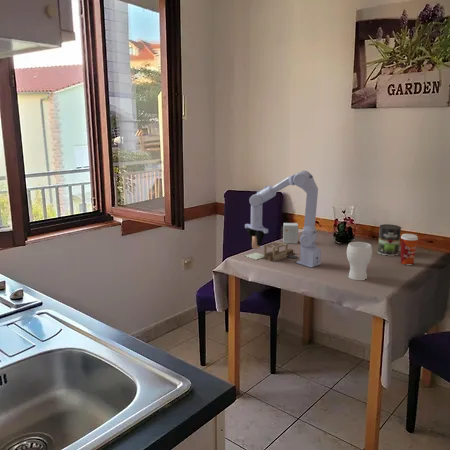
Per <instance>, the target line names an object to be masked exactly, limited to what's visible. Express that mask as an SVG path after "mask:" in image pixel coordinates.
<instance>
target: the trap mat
mask: <svg viewBox="0 0 450 450" xmlns="http://www.w3.org/2000/svg"><path fill="white" fill-rule="evenodd" d="M286 258H289V259H292V260H294V259H298V258H299V256H298V255H293V254H290V255H287V257H286Z"/></svg>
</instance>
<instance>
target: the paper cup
mask: <svg viewBox="0 0 450 450" xmlns="http://www.w3.org/2000/svg"><path fill="white" fill-rule="evenodd" d="M418 240H419V238H418V236H417V234H413V233H403V234H401V235H400V264H401V263H402V264H413V265H414V263H415V262H414V261H415V257H416V250H417V244H418ZM402 264H401V265H402Z"/></svg>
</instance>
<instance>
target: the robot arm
mask: <svg viewBox="0 0 450 450" xmlns="http://www.w3.org/2000/svg"><path fill="white" fill-rule="evenodd" d="M288 186H297V187H298V188H300V189H302V190H303V191H304V192H305V193H306V199H305V212H304V213H305V214H304V223H303V228H302V232H301V235H300V237H299V243H300V251H299V252H300V254H299V260H297V261H295V263H296V264H299V265H301V266H305V267H308V268H314V267H317V266H321V265H322V250H321V249H320V248H319V247H317V244H316V241H317V239H318V234H317V231H316V229H317V228H316V220H317V219H316V218H317V217H316V216H317V206H318V195H319V187H318V186H317V183H316V182H315V179H314V176H313V174H311V173H310V172H309V171H307V170H302V171H300V172H297V173H295V174H292V175H289V176H287V177H286V178H284V179H283V180H281V181H280V182H278V183H277V184H275V185H265V186H264V187H263V189H261V190H258V191H256V193H255V194H252V195H251V196H249V199H248V201H249V204H250V223H245V224H244V228H245V229H246V234H247V235H248V238H249V241H250V244H251V245H252V236H253V235H256V237H257V246H260V247H261V246H262V243H263V240H264V237H265V236H266V234H268V233H269V228H267V227H264V225H263V204H264V203H266V202H268V201H269V200H271V199H272V198H274V197H276V195H277V193H278V192H279V191H281V190H283V189H285V188H287V187H288Z"/></svg>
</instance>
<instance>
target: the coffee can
mask: <svg viewBox="0 0 450 450" xmlns="http://www.w3.org/2000/svg"><path fill="white" fill-rule="evenodd" d="M401 229H402V227H401V226H400V225H396V224H388V223H387V224H380V225H379V233H378V234H379V235H378V246H377V253H378V255H381V254H382V256H385V255H388V256H387V257H395V256H394V255H396V256H398V255H399V253H400V252H399V251H400V243H401V231H402V230H401Z"/></svg>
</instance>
